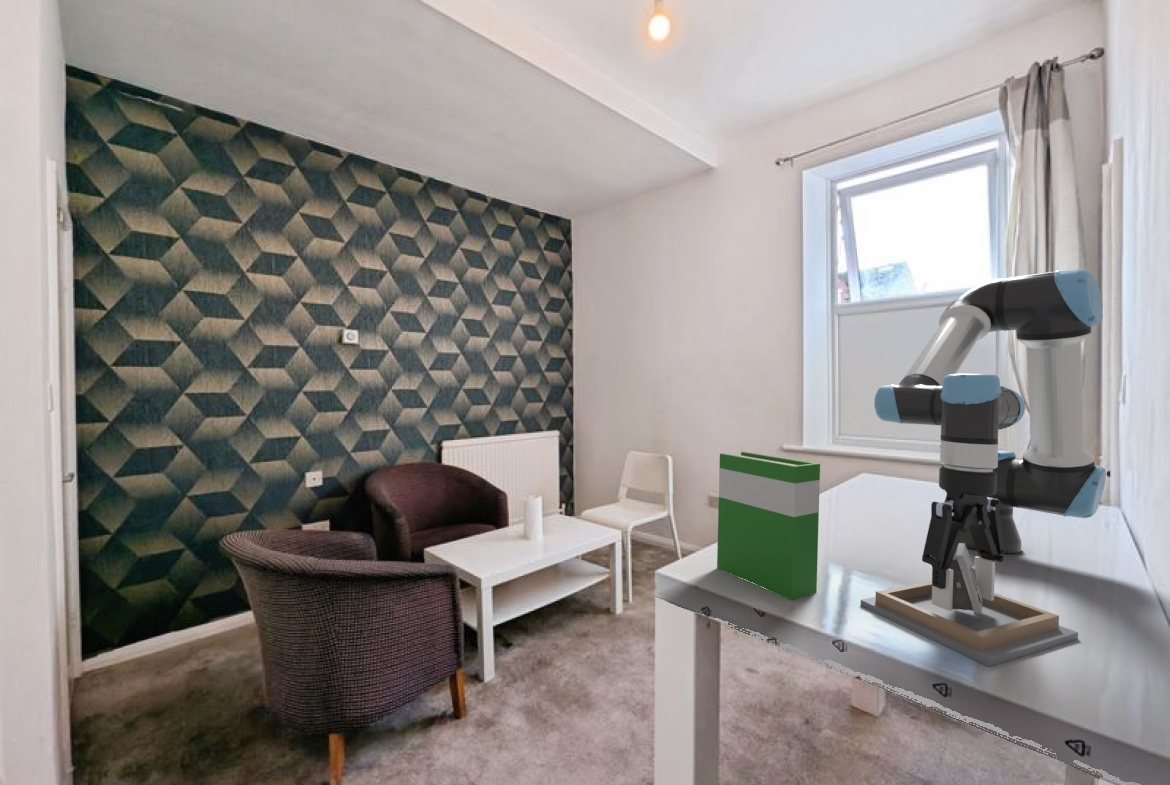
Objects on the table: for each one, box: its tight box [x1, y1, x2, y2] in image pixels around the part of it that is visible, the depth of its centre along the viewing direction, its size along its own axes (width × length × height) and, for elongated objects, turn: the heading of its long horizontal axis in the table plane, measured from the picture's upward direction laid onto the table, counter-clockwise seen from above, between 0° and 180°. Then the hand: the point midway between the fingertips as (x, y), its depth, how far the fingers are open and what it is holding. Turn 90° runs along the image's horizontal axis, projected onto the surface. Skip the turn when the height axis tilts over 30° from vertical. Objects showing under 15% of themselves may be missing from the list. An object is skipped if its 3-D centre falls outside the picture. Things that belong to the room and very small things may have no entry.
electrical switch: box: [943, 543, 982, 616], centre depth 82 cm, size 9×5×9 cm, turn 141°
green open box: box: [716, 451, 821, 601], centre depth 98 cm, size 18×7×24 cm, turn 32°
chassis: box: [860, 580, 1079, 667], centre depth 82 cm, size 22×20×3 cm
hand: (963, 602), depth 82 cm, fingers closed on electrical switch, 10 cm apart
